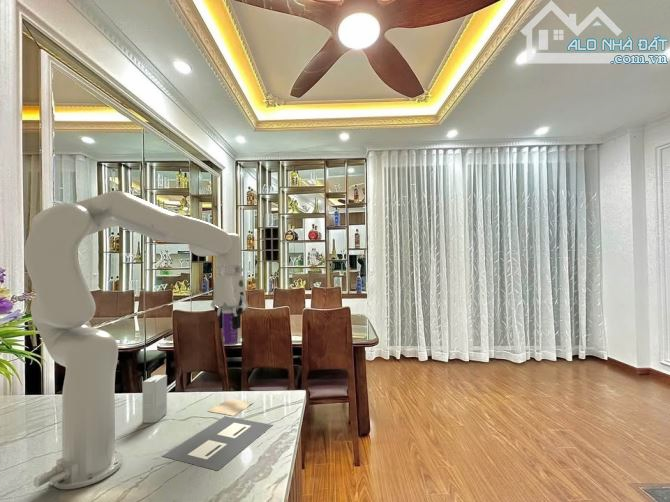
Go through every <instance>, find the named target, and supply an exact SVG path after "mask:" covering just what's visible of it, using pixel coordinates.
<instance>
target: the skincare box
mask: <svg viewBox="0 0 670 502" xmlns="http://www.w3.org/2000/svg"><path fill="white" fill-rule="evenodd" d="M167 386H168V375H167V374H157V375H156V374H154V375H152V376H151V377H149V378H147V379H145V380H143V381H142V409H141V410H142V415H141V417H142V418H141V420H142V422H141V423H143V424H144V423H145V424H146V423H147V424H150V423H151V424H153V423H157V422H158V421H159V420H160V419H162V418H163V417H164V416H166V414H167V413H168V407H167V406H168V401H167V400H168V392H167V391H168V387H167Z"/></svg>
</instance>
